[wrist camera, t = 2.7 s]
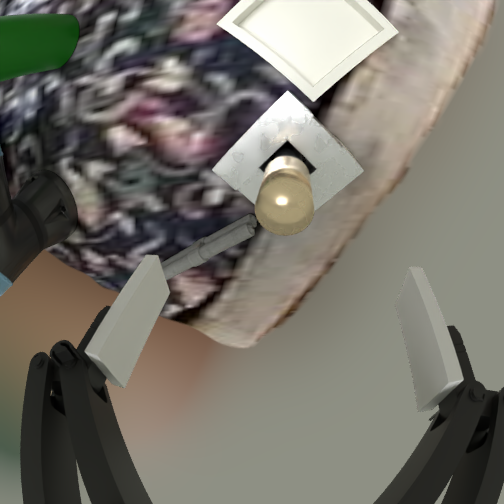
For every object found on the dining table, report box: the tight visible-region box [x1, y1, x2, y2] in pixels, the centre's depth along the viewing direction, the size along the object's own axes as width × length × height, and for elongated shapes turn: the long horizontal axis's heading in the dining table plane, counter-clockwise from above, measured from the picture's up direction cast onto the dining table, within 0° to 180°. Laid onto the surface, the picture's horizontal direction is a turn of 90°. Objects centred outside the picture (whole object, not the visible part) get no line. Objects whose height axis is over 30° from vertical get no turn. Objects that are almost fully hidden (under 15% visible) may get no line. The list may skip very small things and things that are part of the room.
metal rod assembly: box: [161, 214, 257, 280], centre depth 42 cm, size 26×3×5 cm, turn 124°
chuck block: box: [212, 90, 364, 211], centre depth 30 cm, size 12×12×6 cm
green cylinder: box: [0, 14, 79, 82], centre depth 16 cm, size 10×9×20 cm
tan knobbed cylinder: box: [255, 142, 314, 236], centre depth 26 cm, size 4×4×16 cm
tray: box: [217, 0, 398, 102], centre depth 21 cm, size 14×14×4 cm
